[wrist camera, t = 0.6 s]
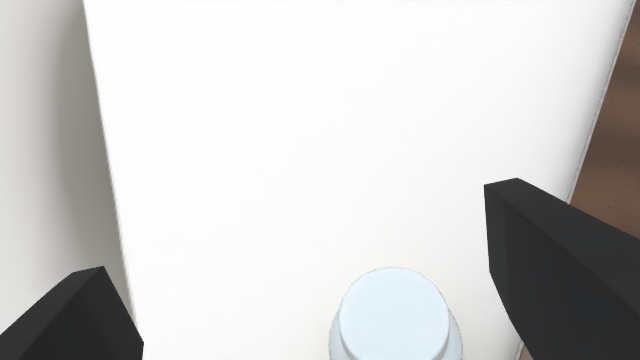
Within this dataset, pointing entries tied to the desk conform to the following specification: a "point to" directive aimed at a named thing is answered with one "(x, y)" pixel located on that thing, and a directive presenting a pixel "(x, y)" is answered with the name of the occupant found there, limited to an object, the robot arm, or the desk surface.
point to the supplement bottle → (394, 320)
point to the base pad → (613, 146)
